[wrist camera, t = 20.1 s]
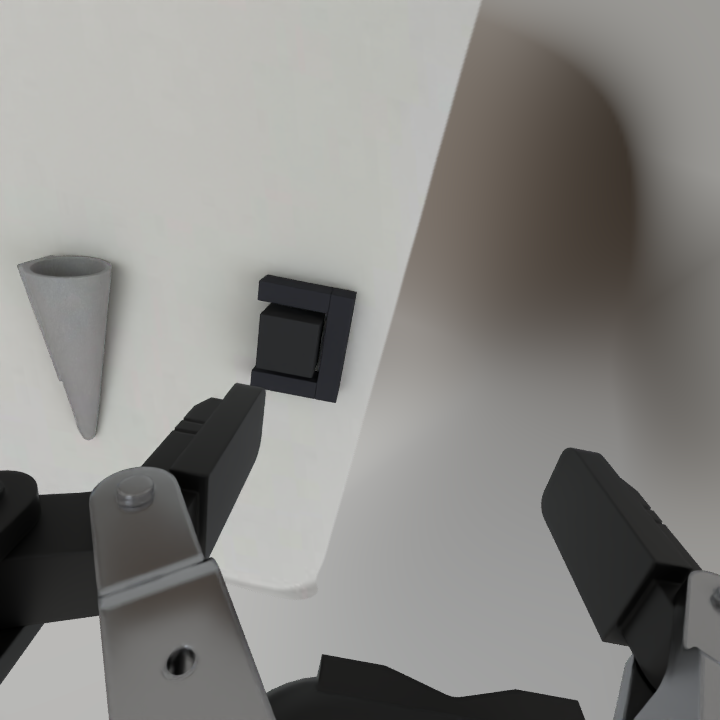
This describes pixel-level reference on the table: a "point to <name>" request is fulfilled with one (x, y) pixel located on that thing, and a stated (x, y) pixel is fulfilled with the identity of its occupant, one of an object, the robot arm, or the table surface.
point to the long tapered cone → (73, 325)
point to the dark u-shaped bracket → (335, 337)
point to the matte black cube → (289, 340)
